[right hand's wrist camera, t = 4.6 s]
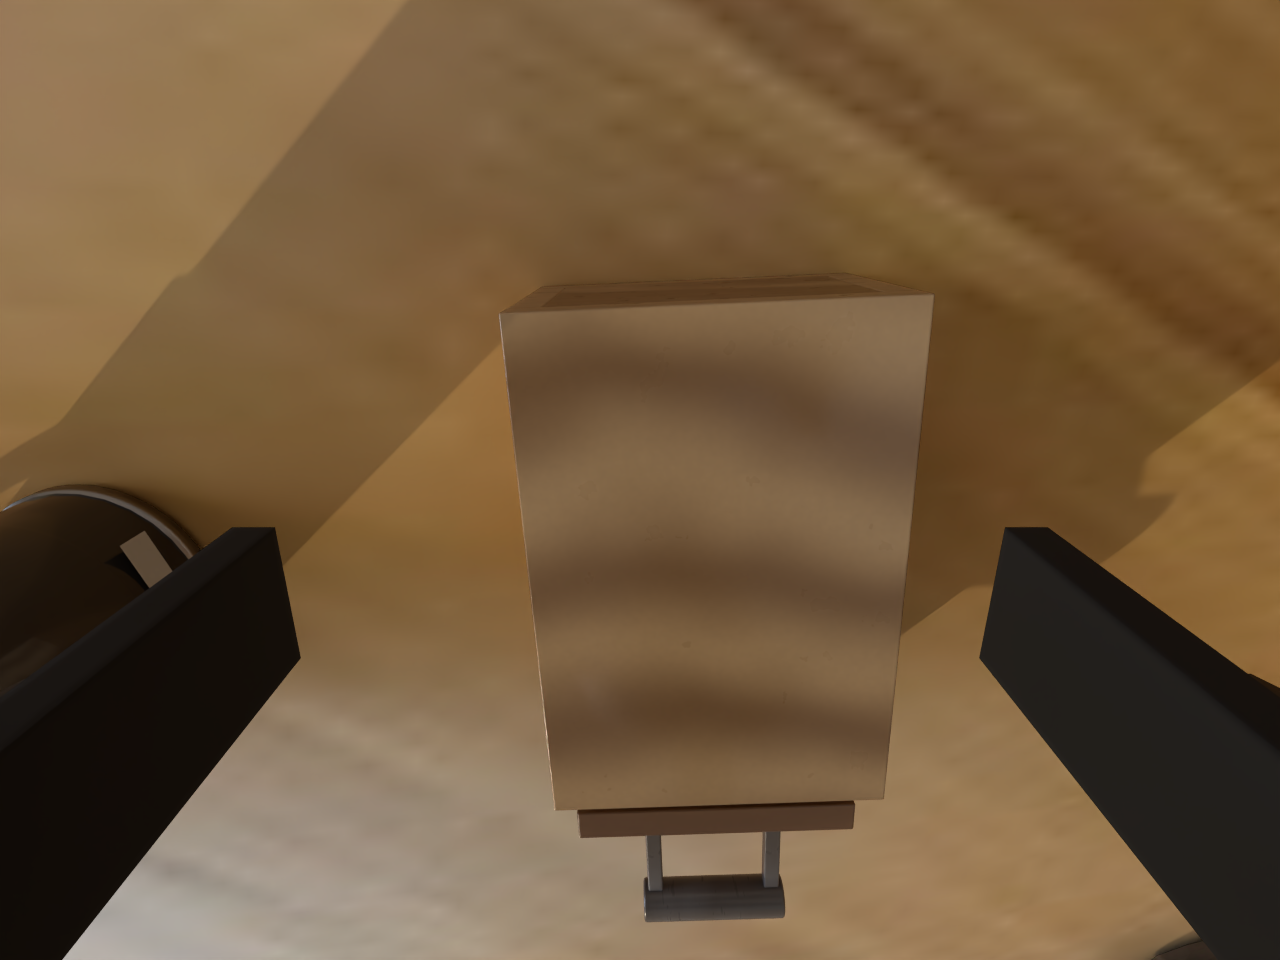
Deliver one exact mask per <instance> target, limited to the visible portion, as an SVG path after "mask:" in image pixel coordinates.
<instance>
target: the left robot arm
mask: <svg viewBox="0 0 1280 960" xmlns="http://www.w3.org/2000/svg"><path fill="white" fill-rule="evenodd" d="M199 551H200V550H199V548H198V547H197V545H196V544H195V543H194V542H193V540H192V539H191V538H190V537H189V536H188V535H187V534H186V533H185V532H184V531H183V530H182V529H181V528H180V527H179V526H178V525H177V524H176V523H175V522H174V521H172V520H171V519H170V518H169V517H167V516H166V515H164V514H163V513H162V512H160V511H159V510H157V509H156V508H154V507H152V506H151V505H149V504H147V503H145V502H143V501H141V500H139V499H137V498H135V497H132V496H130V495H128V494H125V493H122V492H119V491H116V490H112V489H108V488H104V487H97V486H91V485H64V486H57V487H52V488H48V489H45V490H42V491H39V492H36V493H34V494H32V495H29V496H27V497H25V498H23V499H21V500H18V501H16V502H14V503H13V504H11V505H10V506H8V507H6V508H5V509H4V510H3V511H1V512H0V691H2V690H4V689H6V688H8V687H10V686H12V685H14V684H16V683H18V682H20V681H22V680H24V679H26V678H27V677H29V676H30V675H31V674H33V673H34V672H36V671H37V670H38V669H40V668H41V667H42V666H44V665H45V664H46V663H48V662H49V661H51V660H52V659H53V658H55V657H56V656H57V655H59V654H60V653H61V652H63V651H64V650H66V649H67V648H68V647H70V646H71V645H72V644H74V643H75V642H76V641H78V640H79V639H81V638H82V637H83V636H85V635H86V634H87V633H89V632H90V631H91V630H93V629H94V628H96V627H97V626H98V625H100V624H101V623H102V622H104V621H105V620H107V619H108V618H109V617H111V616H112V615H113V614H115V613H116V612H117V611H119V610H120V609H122V608H123V607H124V606H126V605H127V604H128V603H130V602H131V601H132V600H134V599H135V598H137V597H138V596H139V595H141V594H142V593H143V592H145V591H146V590H147V589H149V588H150V587H152V586H153V585H154V584H156V583H157V582H158V581H160V580H161V579H162V578H164V577H165V576H167V575H168V574H169V573H171V572H172V571H173V570H175V569H176V568H177V567H179V566H180V565H182V564H183V563H184V562H186V561H187V560H188V559H190V558H191V557H192V556H194V555H195V554H197V553H198V552H199Z"/></svg>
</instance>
